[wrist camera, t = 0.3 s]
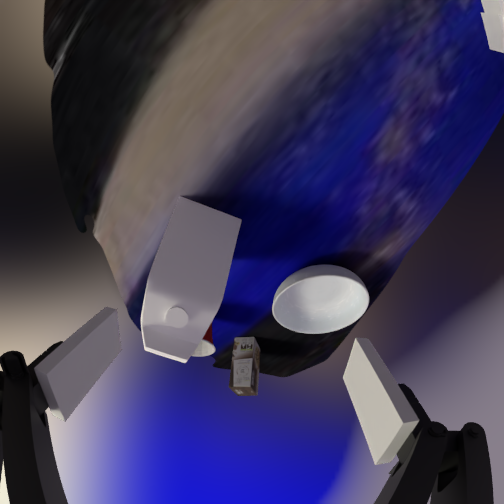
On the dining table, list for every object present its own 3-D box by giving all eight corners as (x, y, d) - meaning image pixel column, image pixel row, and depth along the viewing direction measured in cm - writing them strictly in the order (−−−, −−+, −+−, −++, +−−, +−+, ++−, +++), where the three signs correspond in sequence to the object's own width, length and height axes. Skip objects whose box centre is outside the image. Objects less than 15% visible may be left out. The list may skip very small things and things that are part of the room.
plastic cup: (212, 324, 76) (206, 362, 67) (176, 311, 73) (166, 349, 64) (228, 306, 69) (221, 348, 60) (188, 291, 66) (177, 333, 57)
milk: (166, 239, 55) (123, 354, 36) (179, 196, 47) (124, 321, 29) (220, 259, 58) (197, 378, 39) (241, 219, 50) (221, 353, 31)
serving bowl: (371, 295, 63) (377, 318, 58) (295, 318, 71) (296, 341, 66) (348, 237, 51) (355, 262, 46) (255, 271, 59) (253, 296, 54)
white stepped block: (498, 66, 22) (518, 74, 18) (455, 26, 21) (476, 29, 16) (514, 13, 12) (534, 17, 8) (472, -29, 10) (492, -30, 6)
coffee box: (233, 337, 80) (227, 386, 69) (254, 336, 79) (250, 387, 67) (241, 350, 86) (236, 396, 75) (260, 349, 85) (257, 396, 73)
